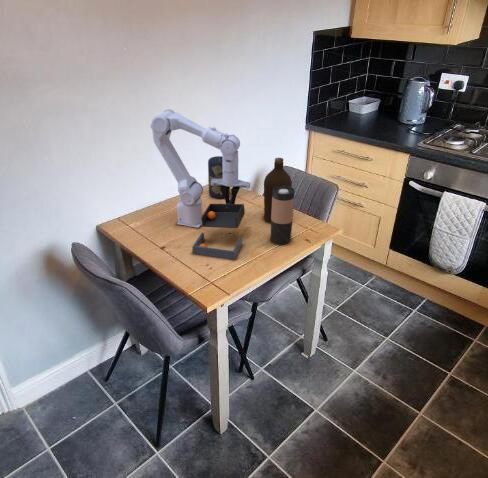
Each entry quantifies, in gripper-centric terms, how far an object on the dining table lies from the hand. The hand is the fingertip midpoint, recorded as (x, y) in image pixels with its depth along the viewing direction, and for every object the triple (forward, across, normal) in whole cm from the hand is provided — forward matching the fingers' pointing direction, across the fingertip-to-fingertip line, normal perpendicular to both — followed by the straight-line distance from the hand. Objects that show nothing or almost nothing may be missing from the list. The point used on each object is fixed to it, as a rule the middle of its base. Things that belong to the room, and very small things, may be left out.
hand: (230, 204), depth 163 cm
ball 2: (0, +4, +10) cm, 11 cm away
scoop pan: (+2, 0, +6) cm, 6 cm away
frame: (+10, 0, +17) cm, 20 cm away
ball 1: (+8, +4, +20) cm, 22 cm away
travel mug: (+10, -20, +5) cm, 23 cm away
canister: (+10, +13, -28) cm, 32 cm away
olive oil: (+10, -16, -11) cm, 22 cm away
